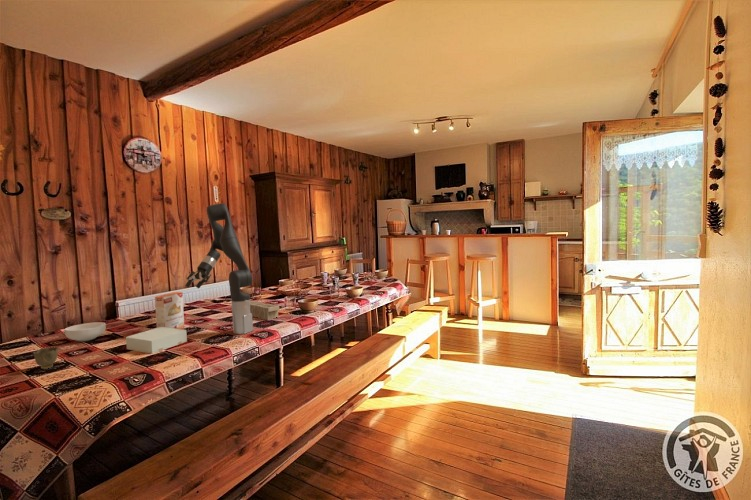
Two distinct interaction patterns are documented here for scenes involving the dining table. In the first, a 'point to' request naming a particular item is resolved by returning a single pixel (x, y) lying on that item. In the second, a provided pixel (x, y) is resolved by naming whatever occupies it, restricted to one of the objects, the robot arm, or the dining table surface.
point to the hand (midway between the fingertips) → (192, 287)
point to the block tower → (263, 310)
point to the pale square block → (156, 339)
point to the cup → (46, 357)
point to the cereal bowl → (85, 331)
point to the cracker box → (170, 310)
